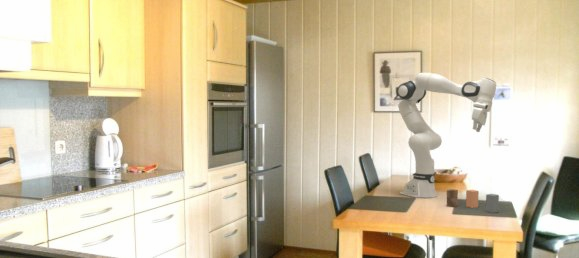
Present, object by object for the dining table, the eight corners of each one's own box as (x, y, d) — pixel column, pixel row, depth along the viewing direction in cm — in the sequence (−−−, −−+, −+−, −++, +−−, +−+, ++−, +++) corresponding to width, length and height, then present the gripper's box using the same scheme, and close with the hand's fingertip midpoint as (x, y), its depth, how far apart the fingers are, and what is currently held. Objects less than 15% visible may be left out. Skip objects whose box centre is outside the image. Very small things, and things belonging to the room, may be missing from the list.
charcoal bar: (485, 211, 269) (486, 194, 268) (490, 210, 272) (490, 193, 271) (493, 212, 265) (494, 195, 265) (498, 211, 268) (498, 194, 268)
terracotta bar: (466, 206, 282) (466, 190, 281) (471, 205, 284) (472, 189, 283) (472, 207, 278) (472, 191, 277) (478, 207, 280) (478, 190, 279)
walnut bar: (446, 206, 283) (446, 190, 282) (449, 204, 286) (449, 189, 286) (454, 207, 280) (454, 191, 279) (457, 205, 283) (457, 189, 283)
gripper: (480, 108, 295) (474, 131, 295) (473, 102, 277) (466, 126, 277) (491, 111, 291) (485, 134, 291) (484, 104, 274) (478, 129, 274)
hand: (476, 130), depth 284 cm, fingers open, 8 cm apart
